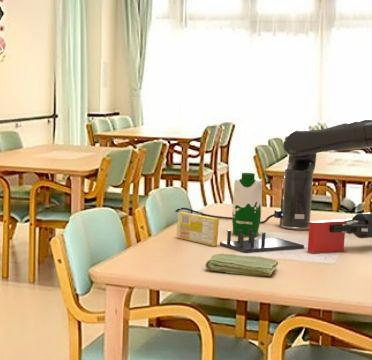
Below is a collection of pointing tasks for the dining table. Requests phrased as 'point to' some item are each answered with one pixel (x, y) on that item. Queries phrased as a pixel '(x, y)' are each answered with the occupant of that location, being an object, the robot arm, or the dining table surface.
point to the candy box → (197, 228)
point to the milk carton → (247, 204)
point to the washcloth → (241, 264)
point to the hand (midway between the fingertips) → (327, 228)
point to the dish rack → (258, 243)
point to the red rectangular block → (325, 237)
